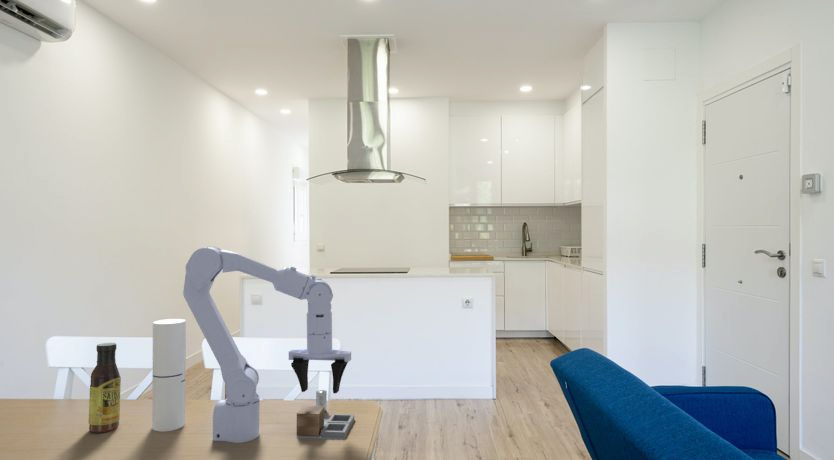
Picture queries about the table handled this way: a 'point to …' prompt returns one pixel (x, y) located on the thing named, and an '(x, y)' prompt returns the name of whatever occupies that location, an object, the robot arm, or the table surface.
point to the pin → (321, 399)
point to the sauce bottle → (105, 391)
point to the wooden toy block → (310, 421)
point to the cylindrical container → (168, 374)
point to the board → (335, 427)
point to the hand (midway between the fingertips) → (320, 391)
